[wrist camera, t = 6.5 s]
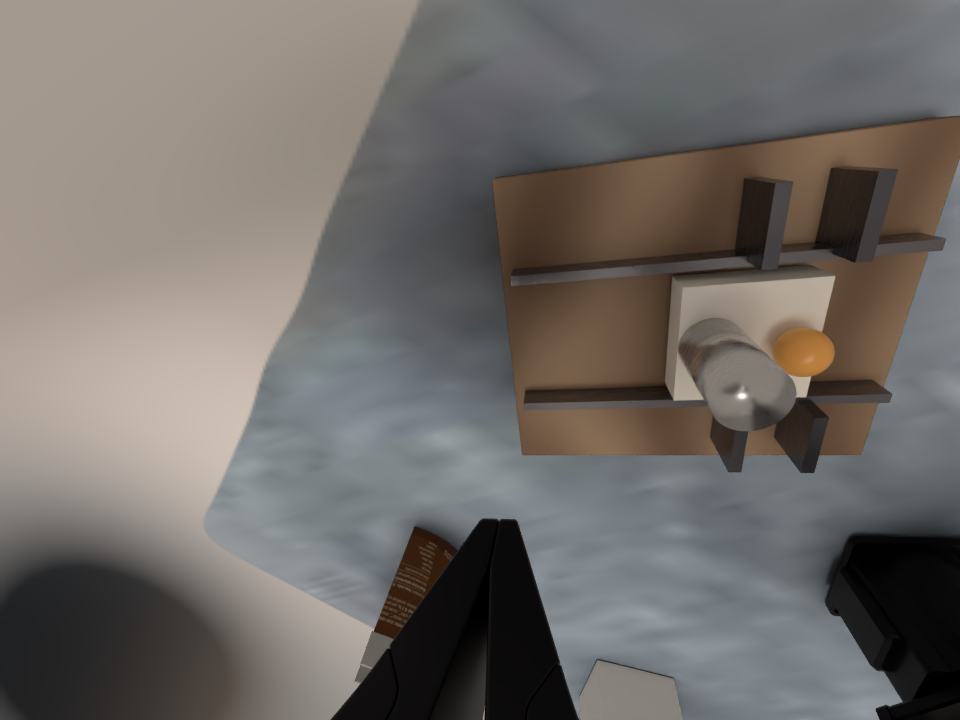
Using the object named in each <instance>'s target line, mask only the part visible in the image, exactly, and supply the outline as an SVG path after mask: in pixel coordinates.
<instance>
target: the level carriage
mask: <svg viewBox="0 0 960 720" xmlns="http://www.w3.org/2000/svg"><path fill="white" fill-rule="evenodd" d="M834 281H835V275H832V274H830V273H828V272H826V271H824V270H821V269H819V268H817V267H815V266H813V265H802V266H790V267H778V269H773V270H760V269H753V270H741V271H729V272H716V273H704V274H692V275H679V276H672V287H671V301H670V316H669V330H668V344H667V359H666V373H665V383H666V386H667V388H668V390H669V392H670V394H671V396H672V398H673V400H674V401H676V400H704V401H705V402H706V404H707V406H708V407H709V409H710V411H711V412H712V414H713V416H714V417H715V419H716V420H717V421H718V422H719V423H720V424H722V425H723V426H725V427H727V428H730V429H733V430H737V431H756V430H760V429H764V428H767V427H769V426H772V425H774V424H775V423H777V422H779V421H780V420H781V419H783V418H784V417H785V416H786V415H787V414H788V413H789V412H790V410H791V409H792V407H793V405H794V403H795V400H796V397H806V396H807V392H808V388H809V384H810V379H811V376H814V375H817V374H819V373H821V372H823V371H824V370H826V369H827V368H828V367H829V366H830V365H831V363H832V361H833V359H834V355H835V349H834V345H833V343H832V341H831V340H830V338H829V337H828V336H827V335H825V334H824V333H822V330H823V326H824V322H825V318H826V314H827V309H828V305H829V301H830V297H831V293H832V289H833V285H834Z"/></svg>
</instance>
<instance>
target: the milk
mask: <svg viewBox="0 0 960 720" xmlns="http://www.w3.org/2000/svg"><path fill="white" fill-rule="evenodd" d="M580 720H683V718H682V714H681V709H680V705H679V700H678V696H677V691H676V687H675V682H674V679H673V678H670V677H665V676H661V675H657V674H653V673H649V672H645V671H641V670H637V669H633V668H629V667H625V666H621V665H616V664H612V663H608V662H604V661H600V660H597V662H596V664H595V666H594V668H593V670H592V672H591V674H590V676H589V678H588V681H587V683H586V685H585V687H584V689H583V691H582V693H581V695H580Z"/></svg>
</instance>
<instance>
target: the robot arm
mask: <svg viewBox="0 0 960 720" xmlns="http://www.w3.org/2000/svg"><path fill="white" fill-rule="evenodd" d="M826 607H827V608H828V610H829V612H830V613H831V614H832V615H834V616H841V618H842V619H843V621H844V622H845V624H846V626H847V627H848V629H849V631H850V632H851V634H852V636H853V637H854V639H855V640H856V642H857V644H858V645H859V647H860V649H861V650H862V652H863V654H864V655H865V657H866V659H867V660H868V662H869V663H870V665H871V666H872V667H873V668H874V669H875V670H877V671H883V672H885V674H886V676H887V677H888V679H889V680H890V682H891V684H892V685H893V687H894V688H895V690H896V692H897V693H898V695H899V696H900V698H901V700H902V701H903V702H902V703H899V704H896V705H893V706H890V707H889V706H888V705H884V706H881V707H878V708H876V712H877V714H878V717H879V719H880V720H960V539H938V538H908V537H878V536H856V537H853V538H851V539H850V540H849V541H848V544H847V547H846V550H845V552H844V555H843V558H842V561H841V564H840V566H839V569H838V572H837V575H836V577H835V580H834V583H833V586H832V589H831V591H830V594H829V597H828V600H827V603H826ZM484 707H485V720H579V719H578V716H577V713H576V710H575V707H574V704H573V701H572V698H571V695H570V692H569V689H568V686H567V683H566V680H565V676H564V673H563V670H562V666H561V665H560V660H559V657H558V654H557V650H556V647H555V644H554V640H553V637H552V634H551V631H550V627H549V624H548V621H547V617H546V614H545V611H544V607H543V604H542V601H541V597H540V594H539V591H538V588H537V584H536V581H535V578H534V574H533V571H532V568H531V564H530V561H529V558H528V554H527V551H526V548H525V545H524V541H523V538H522V535H521V531H520V528H519V525H518V522H517V520H515V519H501V520H500V521H499V520H498V519H486V518H484V519H481V520H480V521H479V523H478V524H477V525H476V527H475V528H474V529H473V531H472V532H471V534H470V535H469V536H468V538H467V539H466V540H465V542H464V543H463V545H462V546H461V547H460V549H459V550H458V551H457V553H456V554H455V556H454V557H453V558H452V560H451V561H450V562H449V564H448V565H447V567H446V568H445V569H444V571H443V572H442V573H441V575H440V576H439V578H438V579H437V580H436V582H435V583H434V584H433V586H432V587H431V589H430V590H429V591H428V593H427V594H426V595H425V597H424V598H423V600H422V601H421V602H420V604H419V605H418V606H417V608H416V609H415V611H414V612H413V613H412V615H411V616H410V617H409V619H408V620H407V622H406V623H405V624H404V626H403V627H402V628H401V630H400V631H399V633H398V634H397V635H396V637H395V638H394V639H393V641H392V642H391V644H390V649H389V648H387V649H386V650H385V652H384V653H383V654H382V656H381V657H380V658H379V660H378V661H377V663H376V664H375V665H374V667H373V668H372V669H371V671H370V672H369V673H368V675H367V676H366V677H365V678H364V680H363V681H362V682H361V684H360V685H359V686H358V688H357V689H356V690H355V691H354V693H353V694H352V695H351V696H350V697H349V699H348V700H347V701H346V702H345V703H344V705H343V706H342V707H341V708H340V709H339V710H338V712H337V713H336V714H335V715H334V716H333V717H332V719H331V720H482V719H483V713H484Z"/></svg>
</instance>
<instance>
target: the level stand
mask: <svg viewBox="0 0 960 720" xmlns="http://www.w3.org/2000/svg"><path fill="white" fill-rule="evenodd" d="M959 159H960V116H950V117H938V118H930V119H923V120H916V121H908V122H901V123H894V124H886V125H879V126H872V127H864V128H857V129H850V130H842V131H835V132H828V133H820V134H813V135H806V136H798V137H791V138H784V139H776V140H769V141H762V142H755V143H747V144H740V145H733V146H725V147H718V148H711V149H703V150H696V151H689V152H681V153H674V154H667V155H659V156H652V157H645V158H637V159H630V160H623V161H615V162H608V163H601V164H593V165H586V166H579V167H572V168H564V169H557V170H550V171H542V172H535V173H528V174H520V175H513V176H506V177H498V178H495V179H493V180H492V185H493V194H494V203H495V212H496V222H497V231H498V240H499V249H500V258H501V267H502V276H503V285H504V294H505V303H506V312H507V322H508V331H509V340H510V349H511V358H512V367H513V376H514V385H515V394H516V403H517V413H518V422H519V431H520V440H521V449H522V455H720V457H721V459H722V461H723V463H724V465H725V467H726V469H727V470H728V472H741V470H742V464H743V459H744V455H788V457H789V458H790V459H791V461H792V462H793V463H794V465H795V466H796V467H797V469H798V470H799V471H800V472H801V473H814V471H815V468H816V464H817V460H818V457H819V455H861V454H862V450H863V447H864V444H865V441H866V438H867V435H868V432H869V429H870V426H871V423H872V420H873V417H874V414H875V411H876V408H877V405H878V403H888V402H890V400H891V397H892V393H890V392H889V391H887V390H886V389H885V388H883V387H884V384H885V381H886V378H887V375H888V372H889V369H890V366H891V363H892V360H893V357H894V354H895V351H896V348H897V345H898V342H899V339H900V336H901V333H902V330H903V327H904V324H905V321H906V318H907V315H908V312H909V309H910V306H911V303H912V300H913V297H914V294H915V291H916V288H917V285H918V282H919V279H920V276H921V273H922V270H923V267H924V264H925V261H926V258H927V255H928V252H929V251H941V250H943V247H944V244H945V241H946V238H941V237H937V236H934V234H935V231H936V228H937V225H938V222H939V219H940V216H941V213H942V210H943V207H944V204H945V201H946V198H947V195H948V192H949V189H950V186H951V183H952V180H953V177H954V174H955V171H956V168H957V165H958V162H959ZM802 265H813V266H815V267H817V268H819V269H821V270H824V271H826V272H828V273H830V274H832V275H835V281H834V285H833V289H832V293H831V297H830V301H829V305H828V309H827V314H826V318H825V322H824V326H823V330H822V333H824V334H825V335H827V336H828V337H829V338H830V340H831V341H832V343H833V345H834V349H835V355H834V359H833V361H832V363H831V365H830V366H829V367H828V368H827V369H826V370H824V371H823V372H821V373H819V374H817V375H814V376H811V379H810V384H809V388H808V392H807V396H806V397H796V400H795V403H794V405H793V407H792V409H791V410H790V412H789V413H788V414H787V415H786V416H785V417H784V418H783V419H781V420H780V421H779V422H777V423H775V424H774V425H772V426H769V427H767V428H764V429H760V430H756V431H737V430H733V429H730V428H727V427H725V426H723V425H722V424H720V423H719V422H718V421H717V420H716V419H715V417H714V416H713V414H712V412H711V411H710V409H709V407H708V406H707V404H706V402H705V401H704V400H676V401H674V400H673V398H672V396H671V394H670V392H669V390H668V388H667V386H666V383H665V373H666V359H667V344H668V330H669V316H670V301H671V287H672V276H679V275H692V274H704V273H716V272H729V271H741V270H753V269H760V270H773V269H778V267H790V266H802Z"/></svg>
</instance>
